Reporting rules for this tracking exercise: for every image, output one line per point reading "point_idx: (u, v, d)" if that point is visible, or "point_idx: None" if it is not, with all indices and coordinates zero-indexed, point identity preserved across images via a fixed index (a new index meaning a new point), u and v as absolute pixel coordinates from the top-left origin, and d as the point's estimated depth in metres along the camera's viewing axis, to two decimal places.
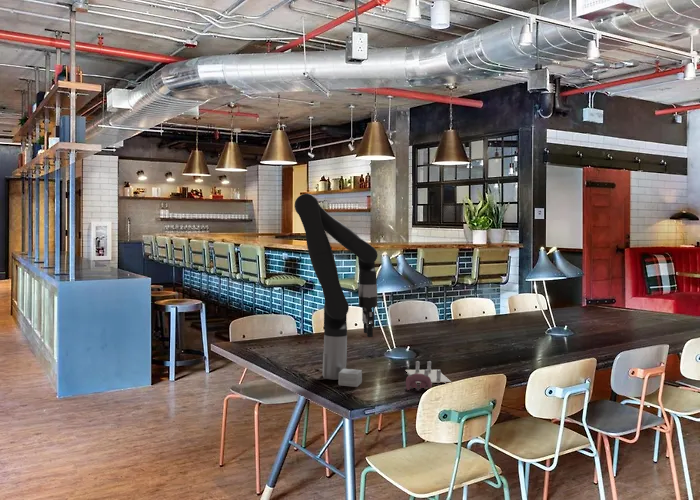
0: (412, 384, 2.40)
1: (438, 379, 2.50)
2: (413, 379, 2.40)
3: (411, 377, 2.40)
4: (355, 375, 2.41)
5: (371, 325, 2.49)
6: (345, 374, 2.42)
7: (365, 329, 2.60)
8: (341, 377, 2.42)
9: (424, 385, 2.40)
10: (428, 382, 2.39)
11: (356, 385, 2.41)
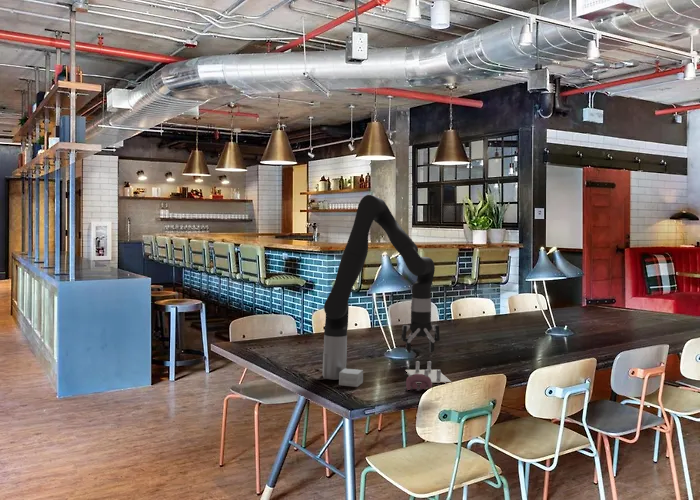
0: (412, 384, 2.39)
1: (438, 379, 2.50)
2: (413, 379, 2.39)
3: (411, 377, 2.39)
4: (355, 375, 2.41)
5: None
6: (345, 374, 2.42)
7: None
8: (342, 377, 2.43)
9: (424, 385, 2.40)
10: (428, 382, 2.38)
11: (356, 385, 2.41)
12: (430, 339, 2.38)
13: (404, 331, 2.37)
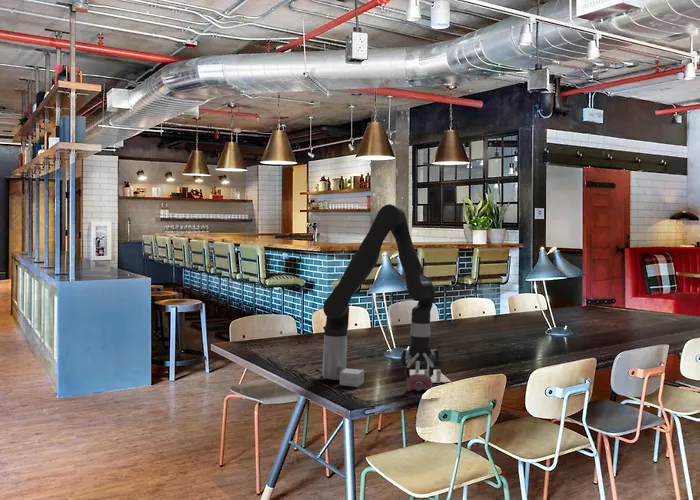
0: (413, 385, 2.39)
1: (438, 379, 2.50)
2: (414, 379, 2.39)
3: (412, 377, 2.39)
4: (356, 375, 2.41)
5: None
6: (346, 374, 2.42)
7: None
8: (342, 376, 2.43)
9: (425, 386, 2.39)
10: (429, 382, 2.38)
11: (357, 385, 2.41)
12: (429, 364, 2.39)
13: (403, 356, 2.37)
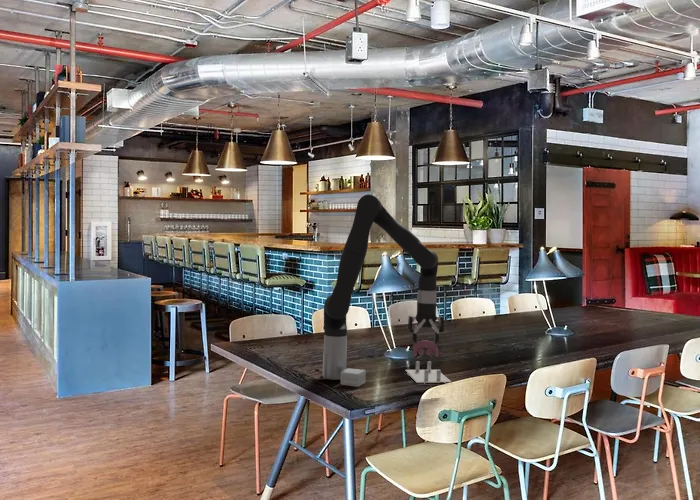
0: (419, 350, 2.49)
1: (438, 379, 2.50)
2: (420, 345, 2.48)
3: (418, 343, 2.48)
4: (356, 375, 2.41)
5: None
6: (347, 374, 2.43)
7: None
8: (343, 376, 2.43)
9: (431, 351, 2.48)
10: (434, 348, 2.47)
11: (357, 385, 2.41)
12: (435, 330, 2.48)
13: (410, 322, 2.47)
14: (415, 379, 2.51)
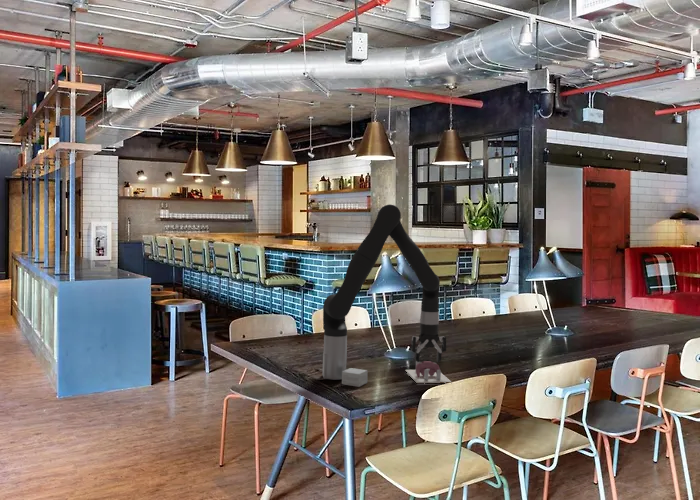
0: (422, 371, 2.57)
1: (438, 379, 2.50)
2: (423, 366, 2.56)
3: (421, 364, 2.56)
4: (357, 375, 2.41)
5: None
6: (348, 373, 2.43)
7: None
8: (344, 376, 2.44)
9: (433, 372, 2.57)
10: (437, 369, 2.56)
11: (358, 385, 2.41)
12: (437, 350, 2.57)
13: (413, 342, 2.55)
14: (415, 379, 2.51)
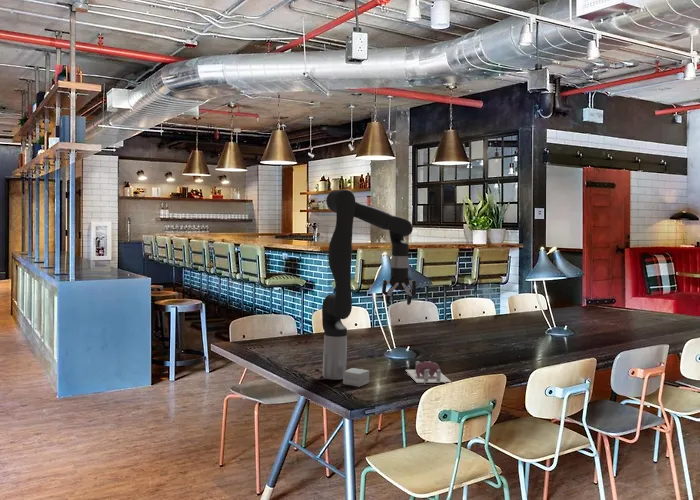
0: (422, 371, 2.57)
1: (438, 379, 2.50)
2: (423, 366, 2.56)
3: (421, 364, 2.56)
4: (358, 375, 2.41)
5: None
6: (349, 373, 2.43)
7: None
8: (345, 376, 2.44)
9: (433, 372, 2.57)
10: (437, 369, 2.55)
11: (359, 385, 2.41)
12: (407, 293, 2.68)
13: (384, 285, 2.67)
14: (415, 379, 2.51)
